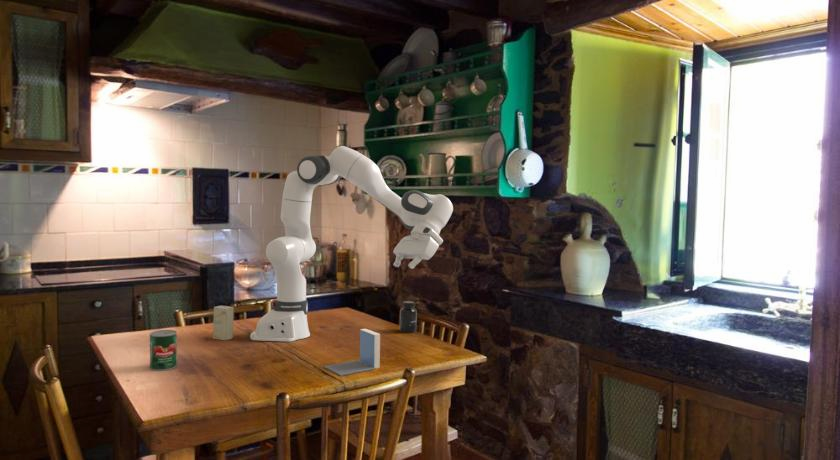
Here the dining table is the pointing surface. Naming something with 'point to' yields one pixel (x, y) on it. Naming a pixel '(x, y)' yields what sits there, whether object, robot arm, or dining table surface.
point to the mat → (348, 368)
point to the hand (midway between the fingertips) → (402, 266)
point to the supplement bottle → (408, 317)
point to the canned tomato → (163, 350)
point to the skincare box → (223, 322)
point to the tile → (370, 348)
